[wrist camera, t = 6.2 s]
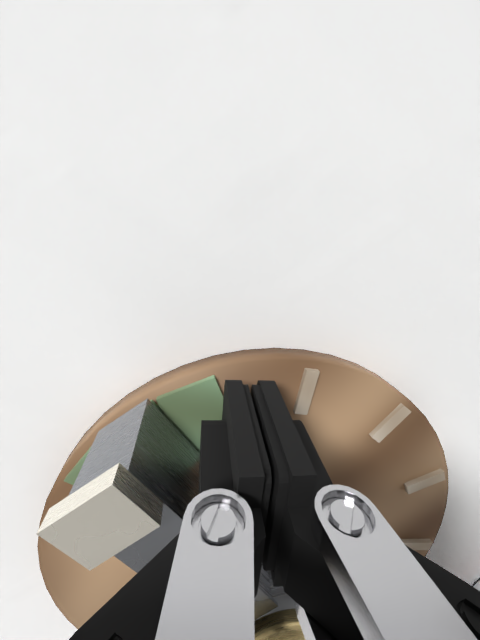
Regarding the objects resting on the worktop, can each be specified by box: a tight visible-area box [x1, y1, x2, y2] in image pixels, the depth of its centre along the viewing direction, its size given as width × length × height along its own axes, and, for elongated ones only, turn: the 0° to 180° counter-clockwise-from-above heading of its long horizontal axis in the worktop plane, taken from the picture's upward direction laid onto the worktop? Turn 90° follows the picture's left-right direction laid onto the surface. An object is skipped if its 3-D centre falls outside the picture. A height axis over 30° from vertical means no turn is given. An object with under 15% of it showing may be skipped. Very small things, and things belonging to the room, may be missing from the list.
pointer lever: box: [37, 398, 305, 640], centre depth 10 cm, size 12×5×4 cm, turn 33°
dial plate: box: [38, 348, 448, 629], centre depth 13 cm, size 18×18×1 cm
